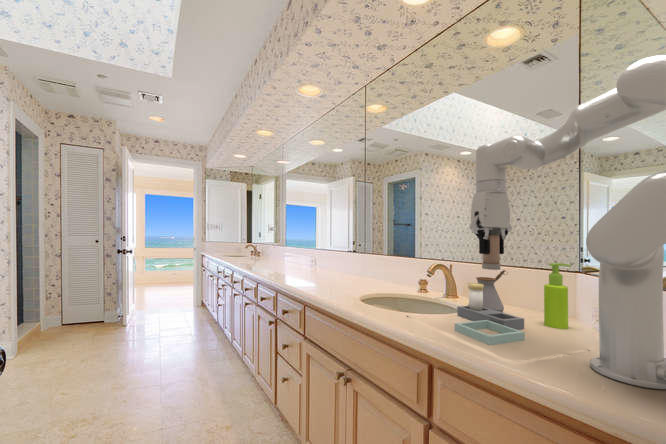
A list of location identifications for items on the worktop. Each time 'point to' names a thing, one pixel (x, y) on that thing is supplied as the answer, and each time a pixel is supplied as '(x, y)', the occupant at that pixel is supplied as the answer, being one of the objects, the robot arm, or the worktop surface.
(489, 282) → the coffee pot
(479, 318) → the fuse holder
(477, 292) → the fuse
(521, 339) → the parts tray
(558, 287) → the soap dispenser
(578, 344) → the worktop surface
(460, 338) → the worktop surface
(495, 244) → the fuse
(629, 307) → the robot arm
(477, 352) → the worktop surface
